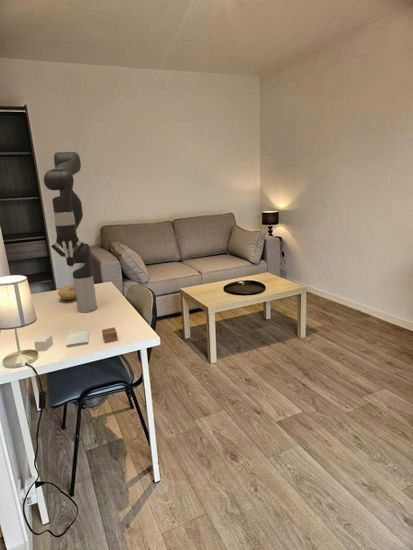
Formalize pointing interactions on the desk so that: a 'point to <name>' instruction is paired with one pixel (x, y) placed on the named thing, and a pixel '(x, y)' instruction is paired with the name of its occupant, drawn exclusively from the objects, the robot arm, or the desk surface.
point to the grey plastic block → (43, 342)
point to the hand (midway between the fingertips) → (71, 266)
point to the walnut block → (109, 335)
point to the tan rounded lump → (67, 292)
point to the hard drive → (78, 338)
